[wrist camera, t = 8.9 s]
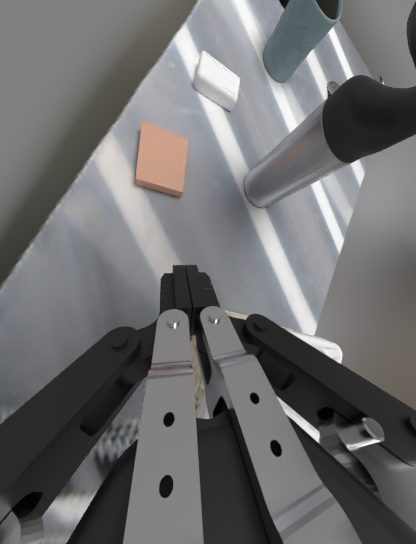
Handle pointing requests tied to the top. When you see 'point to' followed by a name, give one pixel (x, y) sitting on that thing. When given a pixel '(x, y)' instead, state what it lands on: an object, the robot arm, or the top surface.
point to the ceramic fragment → (332, 87)
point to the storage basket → (316, 342)
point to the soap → (216, 81)
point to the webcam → (284, 2)
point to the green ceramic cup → (298, 34)
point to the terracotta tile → (161, 160)
